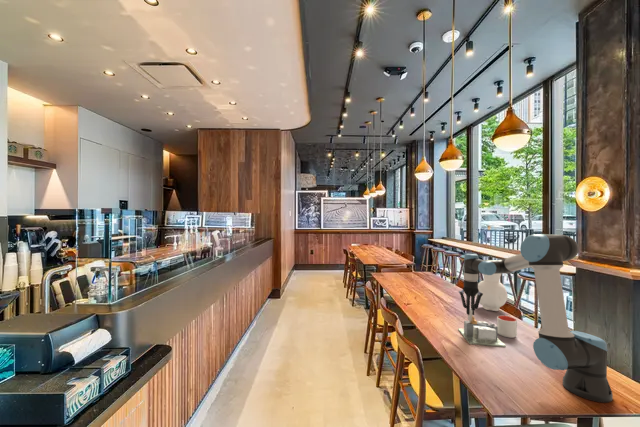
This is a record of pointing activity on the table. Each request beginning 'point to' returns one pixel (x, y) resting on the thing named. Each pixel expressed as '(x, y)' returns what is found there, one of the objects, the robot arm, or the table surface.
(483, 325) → the strap
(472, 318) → the clip
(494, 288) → the vase
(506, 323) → the cup
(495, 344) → the grey table caddy
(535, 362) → the table surface
